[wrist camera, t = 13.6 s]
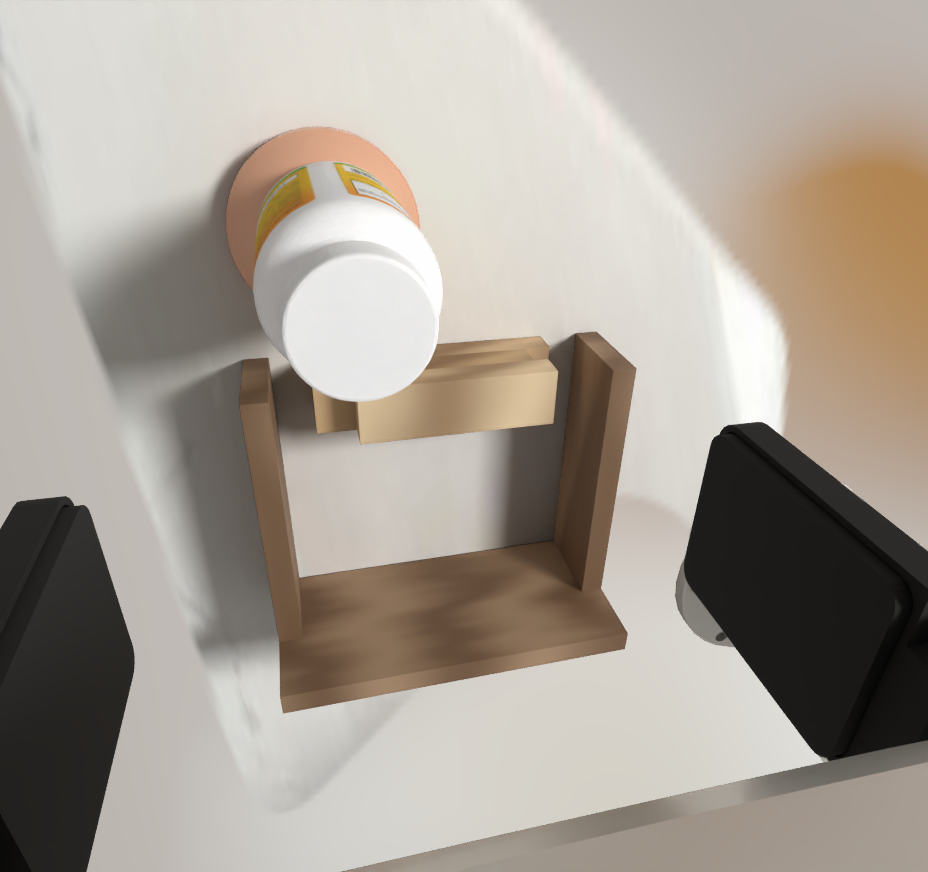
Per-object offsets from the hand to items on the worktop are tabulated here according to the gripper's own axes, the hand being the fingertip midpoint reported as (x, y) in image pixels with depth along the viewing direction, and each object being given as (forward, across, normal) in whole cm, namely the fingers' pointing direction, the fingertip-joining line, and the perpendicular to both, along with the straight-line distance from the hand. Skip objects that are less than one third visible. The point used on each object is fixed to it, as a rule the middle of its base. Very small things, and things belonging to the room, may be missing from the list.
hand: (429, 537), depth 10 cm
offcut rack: (+19, -3, +10) cm, 22 cm away
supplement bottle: (+18, 0, 0) cm, 18 cm away
